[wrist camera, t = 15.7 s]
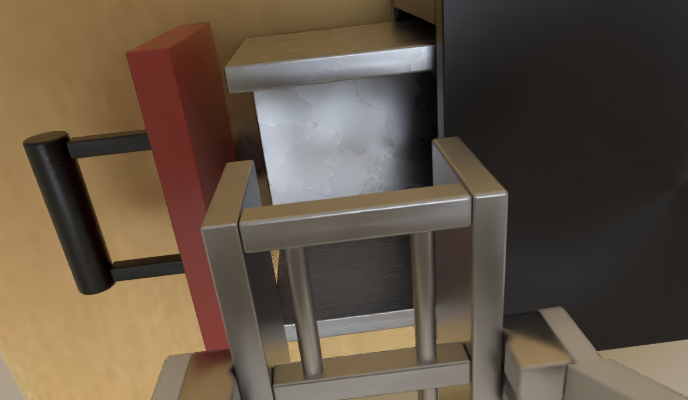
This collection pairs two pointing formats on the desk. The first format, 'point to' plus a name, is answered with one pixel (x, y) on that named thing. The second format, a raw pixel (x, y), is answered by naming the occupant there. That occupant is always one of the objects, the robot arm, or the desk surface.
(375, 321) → the drawer
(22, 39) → the desk surface
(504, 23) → the black drawer cabinet
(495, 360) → the rack
